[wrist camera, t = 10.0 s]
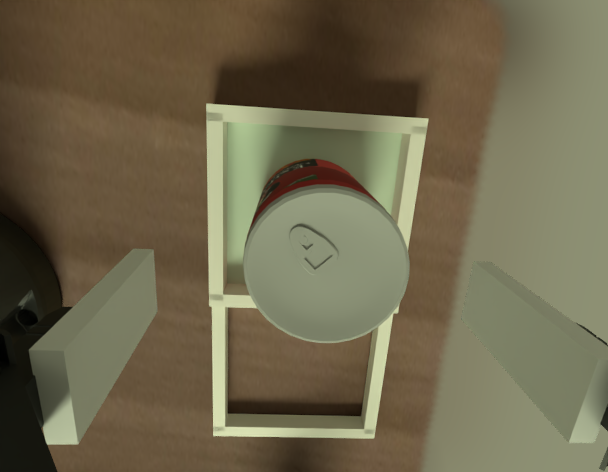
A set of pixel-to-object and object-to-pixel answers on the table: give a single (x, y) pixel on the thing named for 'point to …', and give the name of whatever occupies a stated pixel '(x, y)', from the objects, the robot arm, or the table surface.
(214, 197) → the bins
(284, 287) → the canned food
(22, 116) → the table surface
